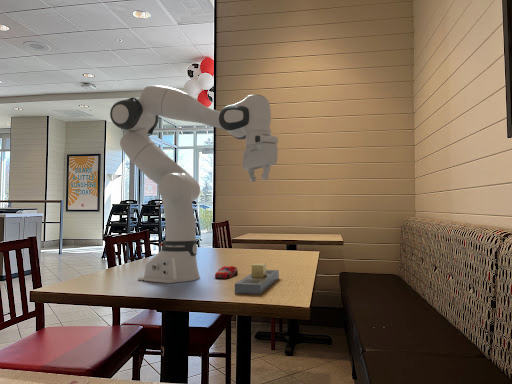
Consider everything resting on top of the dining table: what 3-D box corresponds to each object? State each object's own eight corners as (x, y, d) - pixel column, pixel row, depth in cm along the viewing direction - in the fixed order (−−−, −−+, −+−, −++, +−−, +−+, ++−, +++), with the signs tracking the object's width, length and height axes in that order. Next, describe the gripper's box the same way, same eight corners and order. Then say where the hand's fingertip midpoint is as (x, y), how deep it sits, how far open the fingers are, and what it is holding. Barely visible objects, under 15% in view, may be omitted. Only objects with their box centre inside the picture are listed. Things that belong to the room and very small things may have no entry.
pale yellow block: (251, 286, 125) (251, 265, 126) (254, 284, 129) (254, 263, 129) (263, 286, 124) (263, 265, 125) (266, 284, 128) (265, 263, 128)
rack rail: (234, 293, 114) (234, 283, 114) (258, 277, 141) (257, 269, 141) (260, 294, 112) (260, 284, 112) (278, 278, 139) (278, 270, 139)
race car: (225, 280, 137) (225, 269, 137) (212, 279, 139) (212, 269, 139) (240, 274, 150) (240, 264, 150) (227, 273, 151) (227, 263, 152)
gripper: (238, 145, 139) (238, 182, 138) (263, 135, 121) (264, 178, 120) (253, 146, 142) (253, 183, 141) (280, 136, 124) (281, 178, 123)
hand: (258, 180), depth 131 cm, fingers open, 8 cm apart
